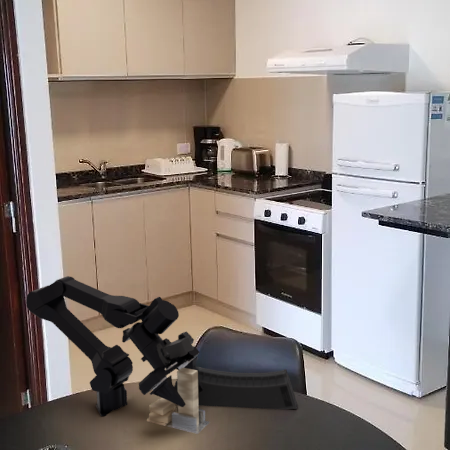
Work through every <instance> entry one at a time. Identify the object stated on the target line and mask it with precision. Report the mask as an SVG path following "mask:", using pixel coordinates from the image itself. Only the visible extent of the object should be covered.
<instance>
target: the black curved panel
mask: <svg viewBox="0 0 450 450" xmlns="http://www.w3.org/2000/svg"><path fill="white" fill-rule="evenodd" d="M196 370H198V376H199V379H200V381H201V384H202V387H203V391H202V392H201V393H200V392H199V391H198V405H199V406H200V407H223V408H244V409H245V408H246V409H247V408H249V409H267V410H293V409H294V410H297V409H298V406H299V405H298V402H297V399H296V394H295V392H294V388H293V385H292V383H291V379H290V376H289V374H288V371H287V369H286V368H285V369H283V370H277V371H270V372H230V371H222V370H215V369H210V368H204V367H200V366H197V365H196ZM173 386H174V387H175V389H176V390H177V391H178V386H177V380H176V381H175V383H174V385H173Z"/></svg>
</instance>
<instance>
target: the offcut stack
mask: <svg viewBox="0 0 450 450" xmlns="http://www.w3.org/2000/svg"><path fill="white" fill-rule="evenodd" d="M148 406H149V412H150V413H149V414H148V417H147V419H146V422H148V423H151V424H152V423H153V424H156V425H160V426H165V427H166V426H168V425H169V424H170V423H171V422H172V413H173V412H175V413H178V409H177V408H178V406H176V404H174V403H172V402H170V401H168V400H166V399H164V398H161V397H159V399H157V400H155V401H154V402H152V403H151V404H149V405H148Z"/></svg>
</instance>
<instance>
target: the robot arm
mask: <svg viewBox="0 0 450 450" xmlns="http://www.w3.org/2000/svg"><path fill="white" fill-rule="evenodd" d="M65 298H66V299H69V300H71V301H73V302H75V303H78V304H80V305H82V306H84V307H86V308H88V309H91V310H93V311H95V312H97V313H99V314H100V315H101V316H102V318H103V319H104V321H105V322H107V323H109V324H110V325H112V326H113V327H115V328H116V329H123V330H122V337H121V342H122V343H126V342H128V341H129V340H130V341H131V342H132V343H133V344H134V346H135V347H136V348H137V349H138V351H139V353H141V355H142V357H141V358H140V360H141V361H142V362H143V363H145V362H148V364H149V365H150V366H151V367H152V368H153V370H152V371H150V372H149V373H148V374H147V375H146V376H145V377H144V378H142V380H141V381H140V382H138V390H139V391H140V392H141V394H142V395H143V396H145V395H147V394H148V393H149V395H150V396H152V395H154V396H157V397H159V398H164V399H166V400H168V401H170V402H172V403H174V404H176V405H177V407H178V406H180V407H184V406H185V405H186V404H185V402H184V400H183V399H182V397H181V396H180V394H179V393H178V391H177V390H176V389H175V387H174V386H175V385H174V384H173V377H172V375H169V374H171V373H172V372H173V371H175V370H177V371H178V370H180V369H181V368H187V369H193V370H196V366H197V361H198V359H199V358H198V355H199V354H200V351H199V349H198V348H197V347H196V346H195V345H193V344H194V341H195V339H194V337H192V335H191V334H190V333H189V332H188V331H183V332H182V333H180V334H178V336H177V339H176V340H174V341H172V342H171V341H170V339H168V338H164V339H163V338H162V337H161V336H160V335H163V334H164V333H165V332H166V331H167V330H168V328H170V327H171V326H172V325H173V324H174V323H175V322H176V321H177V320H178V318H179V315H180V314H179V311H178V308H177V307H176V306H175V304H173V303H172V302H169V301H168V300H164V299H163V298H162V297H161V296H158V297H155V298H154V299H152V301H151V302H150V304H149V305H147V304H144V303H141V302H139V300H138V299H136V298H133V297H129V296H125V295H112V294H109V293H106V292H104V291H102V290H99V289H98V288H94V287H92V286H90V285H88V284H86V283H84V282H81V281H79V280H77V279H75V277H73V276H69V275H67V276H64V277H61V278H59V279H56V280H55V281H54V282H52V283H50V284H48V285H45V286H42V287H40V288H37V289H35V290H32V291H30V292H28V293H27V295H26V297H25V299H26V300H25V305H26V308H27V309H28V311H29V312H31V314H32V315H34V316H35V317H37V318H39V319H42V320H44V321H48V322H51V323H52V324H53V325H54V327H56V328H57V329H58V330H60V332H61V333H62V334H63V335H64V336H66V338H68V339H69V340H70V342H71V343H73V344H74V345H75V346H76V347H77V348H78V349H79V351H81V352H82V353H83V354H84V355H85V356H86V357H87V359H89V360H90V361H91V365H92V369H93V373H94V374H95V376H94V377H93V378H92V379H91V380H90V381H89V385H90V388H91V391H92V392H93V391H94V392H96V401H97V402H96V404H95V407H96V409H97V411H98V413H99V415H100V417H106V416H107V415H108V414H110V413H112V412H114V411H117V410H119V409H121V408H122V407H125V406H127V405H128V393H127V389H126V387H125V384H124V383H125V382H127V381H129V378H130V376H131V375H132V373H133V372H134V371H133V370H134V367H133V361H132V359H131V358H130V354H129V353H127V352H126V351H124V350H123V348H122V347H121V346H120V345H118V344H115V345H114V346H107V345H106V344H105V343H104V342H103V341H102V340H101V339H99V338H98V337H97V336H96V334H94V332H92V331H91V330H90V328H88V327H87V326H86V325H85V324H84V323H83V322H82V321H81V320H80V319H79V318H78V317H77V316H76V315H75V314H73V313H72V312H71V310H69V308H68V307H67V303H66V299H65ZM140 321H141V322H140ZM129 325H131V327H130V328H129V327H127V326H129ZM126 327H127V328H126ZM124 328H126V329H124ZM168 375H169V376H168ZM198 391H199V392H200V393H201V392H202V391H203V387H202V384H201V381H200V379H199V376H198Z"/></svg>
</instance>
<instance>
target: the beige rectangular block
mask: <svg viewBox="0 0 450 450" xmlns="http://www.w3.org/2000/svg"><path fill="white" fill-rule="evenodd" d="M176 376H177V377H176V381H177V386H178V393H179V394H180V396H181V397H182V399H183V400H184V402H185V404H186V405H185V406H184V407H180V406H178V405H177V408H178V409H177V412H178V413H179V414H183V415H188V416H192V417H196V420H197V425H198V424H199V409H200V408H199V405H198V370H193V369H187V368H181V369H180V370H177V371H176Z"/></svg>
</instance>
